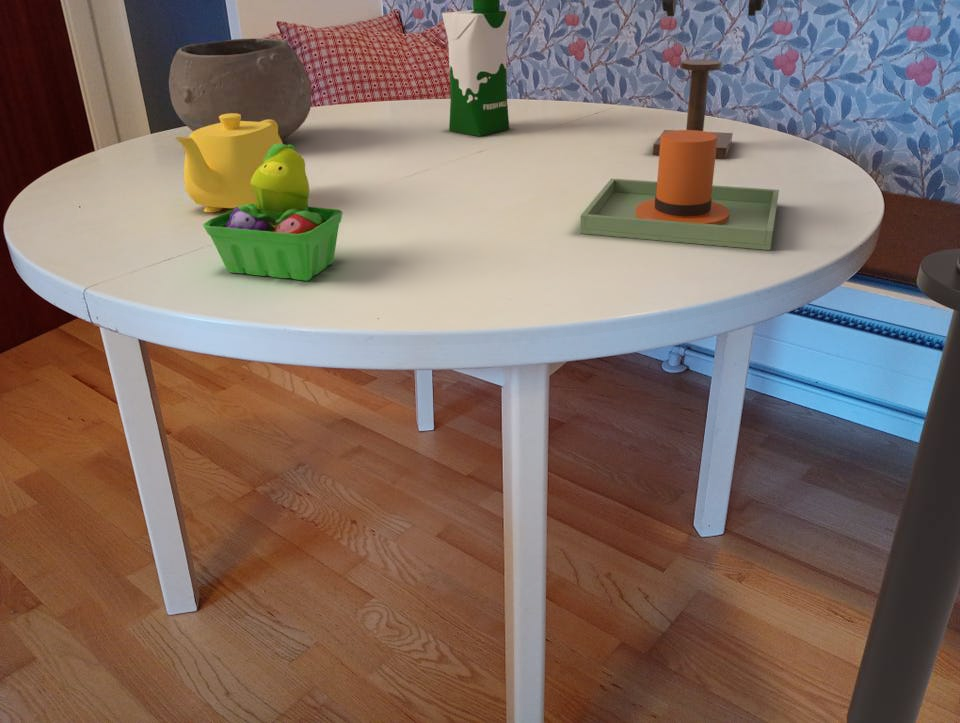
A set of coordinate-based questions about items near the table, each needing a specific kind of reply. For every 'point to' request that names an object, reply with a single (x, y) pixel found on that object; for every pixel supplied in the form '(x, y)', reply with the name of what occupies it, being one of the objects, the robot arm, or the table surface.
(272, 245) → the fruit basket
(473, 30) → the milk carton
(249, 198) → the teapot
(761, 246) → the tray
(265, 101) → the clay pot
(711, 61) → the stand
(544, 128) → the table surface
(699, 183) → the hat
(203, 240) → the table surface
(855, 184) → the table surface
